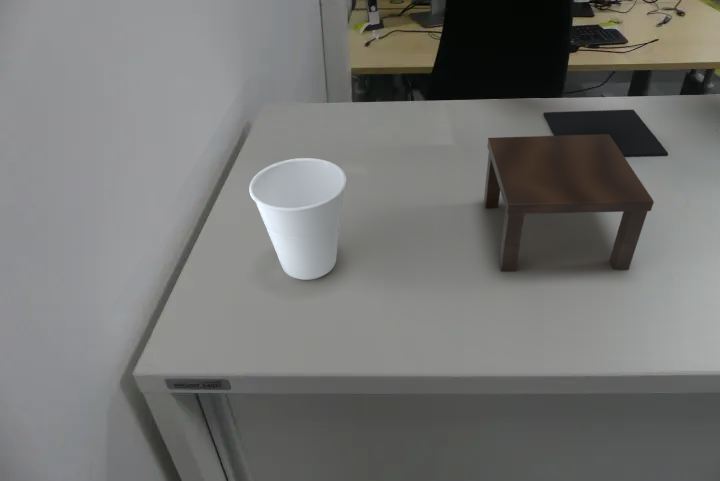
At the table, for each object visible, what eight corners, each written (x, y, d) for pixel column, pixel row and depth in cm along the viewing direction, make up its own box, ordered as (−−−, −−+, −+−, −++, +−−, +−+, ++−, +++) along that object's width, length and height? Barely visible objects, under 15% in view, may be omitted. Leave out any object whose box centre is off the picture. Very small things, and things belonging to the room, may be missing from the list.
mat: (632, 111, 89) (633, 109, 89) (667, 155, 78) (668, 153, 78) (543, 114, 90) (543, 112, 90) (565, 158, 79) (565, 155, 79)
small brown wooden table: (593, 197, 71) (609, 133, 65) (631, 270, 60) (654, 201, 54) (481, 200, 72) (488, 137, 66) (499, 272, 61) (508, 204, 55)
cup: (250, 285, 61) (231, 202, 55) (286, 232, 69) (273, 153, 62) (336, 301, 59) (327, 215, 52) (363, 243, 66) (358, 162, 59)
